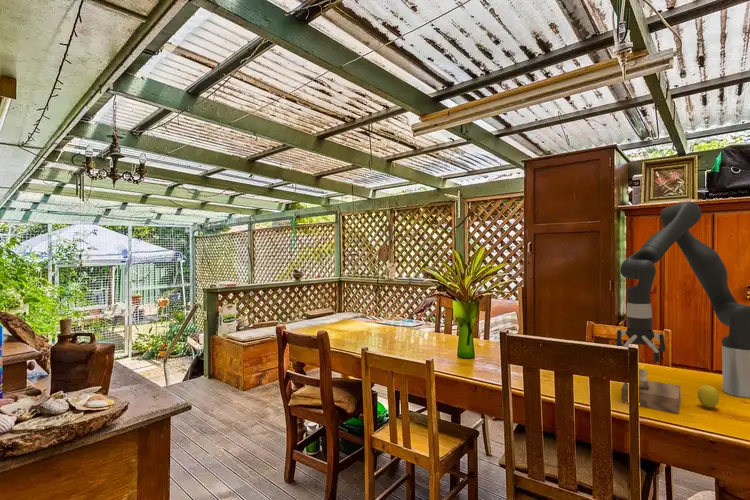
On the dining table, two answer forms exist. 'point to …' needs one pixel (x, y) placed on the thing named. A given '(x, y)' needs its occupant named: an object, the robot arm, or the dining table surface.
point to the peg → (643, 379)
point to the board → (657, 396)
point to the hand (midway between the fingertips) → (640, 360)
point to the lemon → (708, 396)
